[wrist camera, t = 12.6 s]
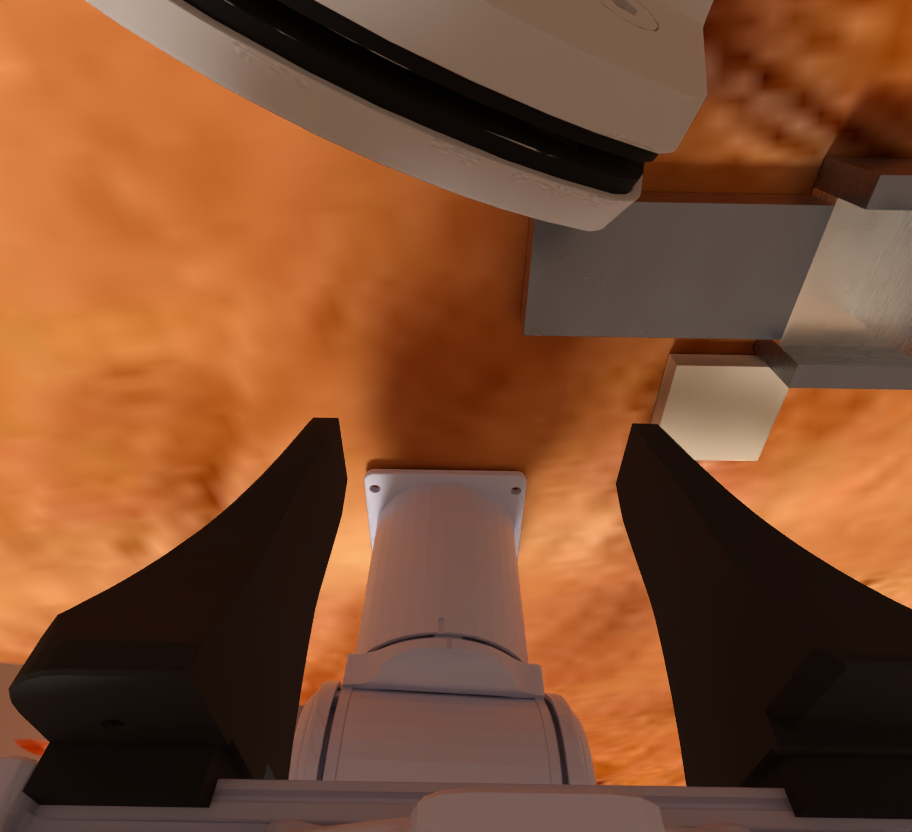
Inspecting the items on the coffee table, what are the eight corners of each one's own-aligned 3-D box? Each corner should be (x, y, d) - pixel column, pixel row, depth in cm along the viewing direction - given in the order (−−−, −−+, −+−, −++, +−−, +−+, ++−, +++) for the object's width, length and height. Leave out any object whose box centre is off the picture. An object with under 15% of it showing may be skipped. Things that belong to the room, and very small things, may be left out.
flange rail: (963, 353, 23) (1024, 391, 21) (517, 346, 23) (524, 383, 20) (1084, 161, 19) (1179, 180, 16) (535, 151, 19) (547, 168, 16)
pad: (747, 447, 26) (757, 461, 25) (644, 445, 26) (650, 459, 25) (786, 355, 23) (798, 367, 22) (669, 353, 23) (677, 365, 22)
